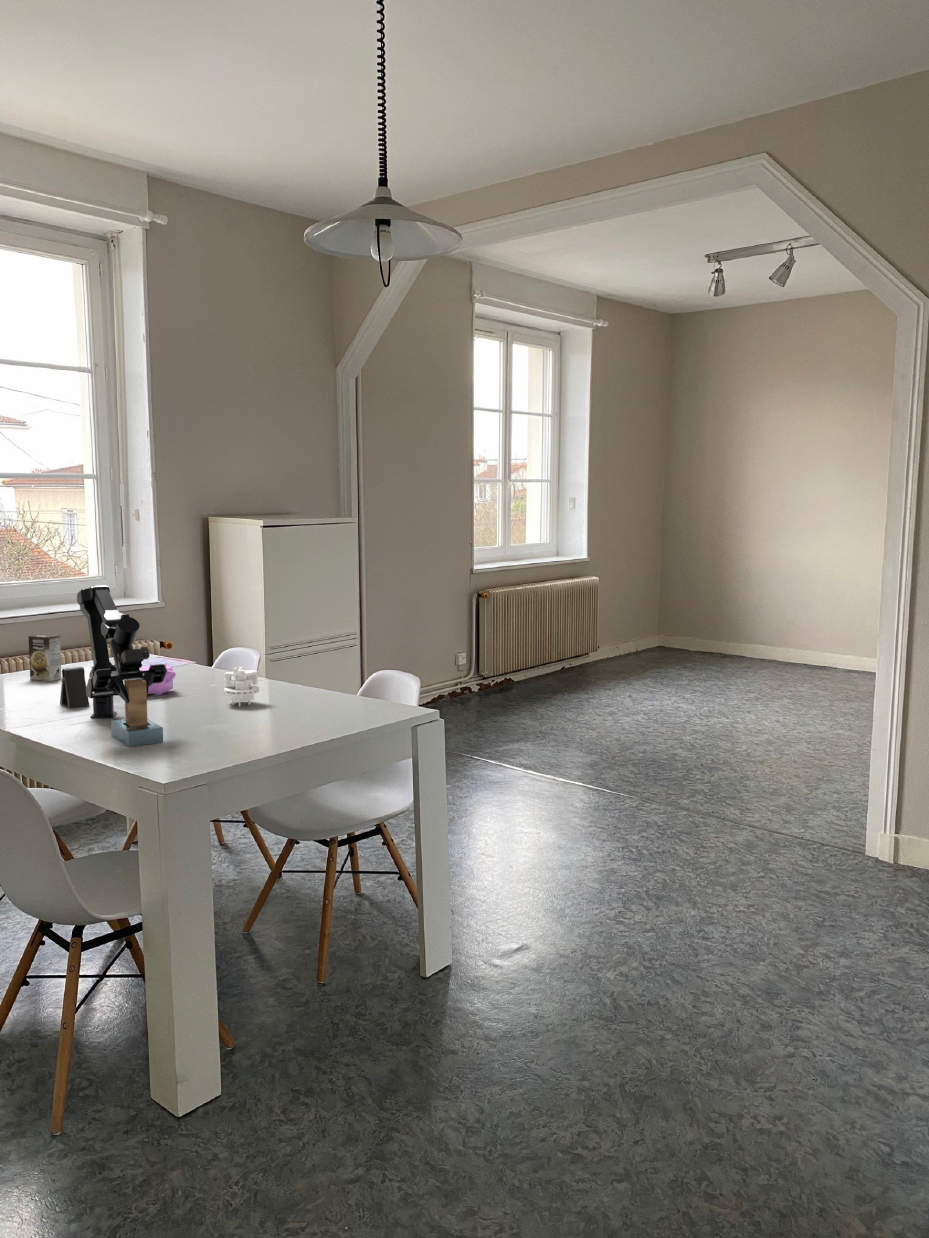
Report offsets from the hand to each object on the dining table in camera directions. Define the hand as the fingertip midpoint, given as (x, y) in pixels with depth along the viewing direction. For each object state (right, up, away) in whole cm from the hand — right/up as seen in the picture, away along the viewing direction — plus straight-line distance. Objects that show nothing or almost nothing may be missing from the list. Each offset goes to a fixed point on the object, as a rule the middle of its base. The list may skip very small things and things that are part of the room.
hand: (137, 701), depth 249 cm
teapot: (-16, -3, +65) cm, 67 cm away
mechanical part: (+17, -5, +48) cm, 51 cm away
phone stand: (-36, -5, +44) cm, 57 cm away
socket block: (-1, -10, +2) cm, 11 cm away
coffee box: (-65, 0, +88) cm, 109 cm away
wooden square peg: (-1, -6, +2) cm, 7 cm away
